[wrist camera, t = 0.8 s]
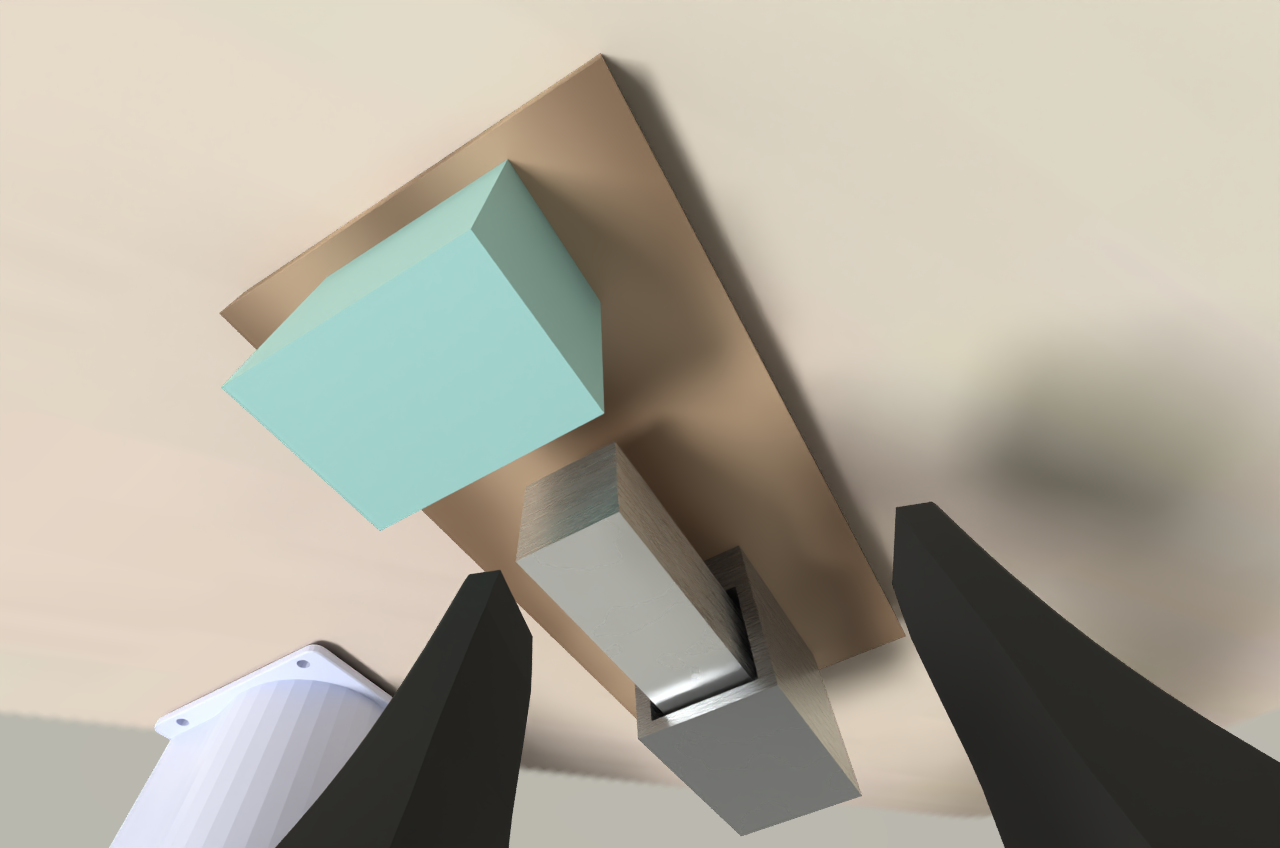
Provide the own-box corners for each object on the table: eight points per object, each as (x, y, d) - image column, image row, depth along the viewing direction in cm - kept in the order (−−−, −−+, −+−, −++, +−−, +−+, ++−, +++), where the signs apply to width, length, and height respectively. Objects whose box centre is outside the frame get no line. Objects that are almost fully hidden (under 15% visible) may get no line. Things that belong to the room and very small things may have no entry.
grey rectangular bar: (719, 707, 25) (734, 785, 23) (525, 486, 19) (515, 561, 16) (790, 680, 25) (813, 757, 22) (614, 440, 18) (619, 512, 15)
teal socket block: (433, 397, 19) (379, 530, 14) (325, 277, 17) (220, 387, 12) (600, 301, 18) (604, 413, 13) (507, 159, 16) (470, 229, 11)
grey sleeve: (715, 694, 28) (741, 836, 23) (628, 594, 24) (638, 739, 20) (813, 655, 27) (862, 795, 22) (739, 545, 23) (777, 684, 18)
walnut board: (649, 704, 31) (652, 734, 29) (244, 292, 19) (219, 313, 17) (891, 607, 28) (905, 635, 27) (600, 53, 16) (602, 57, 15)
